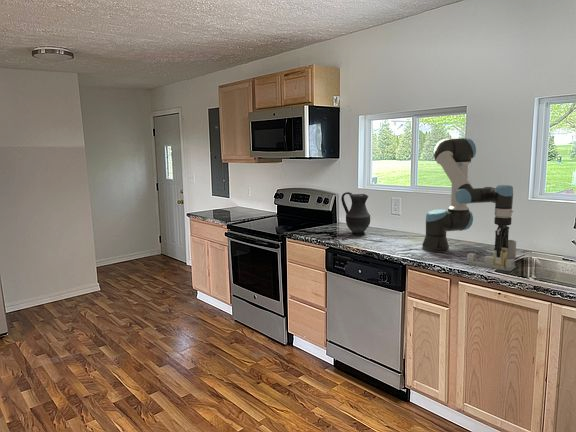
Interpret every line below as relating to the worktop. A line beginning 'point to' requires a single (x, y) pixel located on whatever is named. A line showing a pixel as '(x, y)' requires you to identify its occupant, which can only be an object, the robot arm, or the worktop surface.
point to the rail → (490, 262)
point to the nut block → (504, 258)
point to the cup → (511, 249)
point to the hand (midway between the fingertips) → (500, 261)
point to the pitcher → (357, 214)
